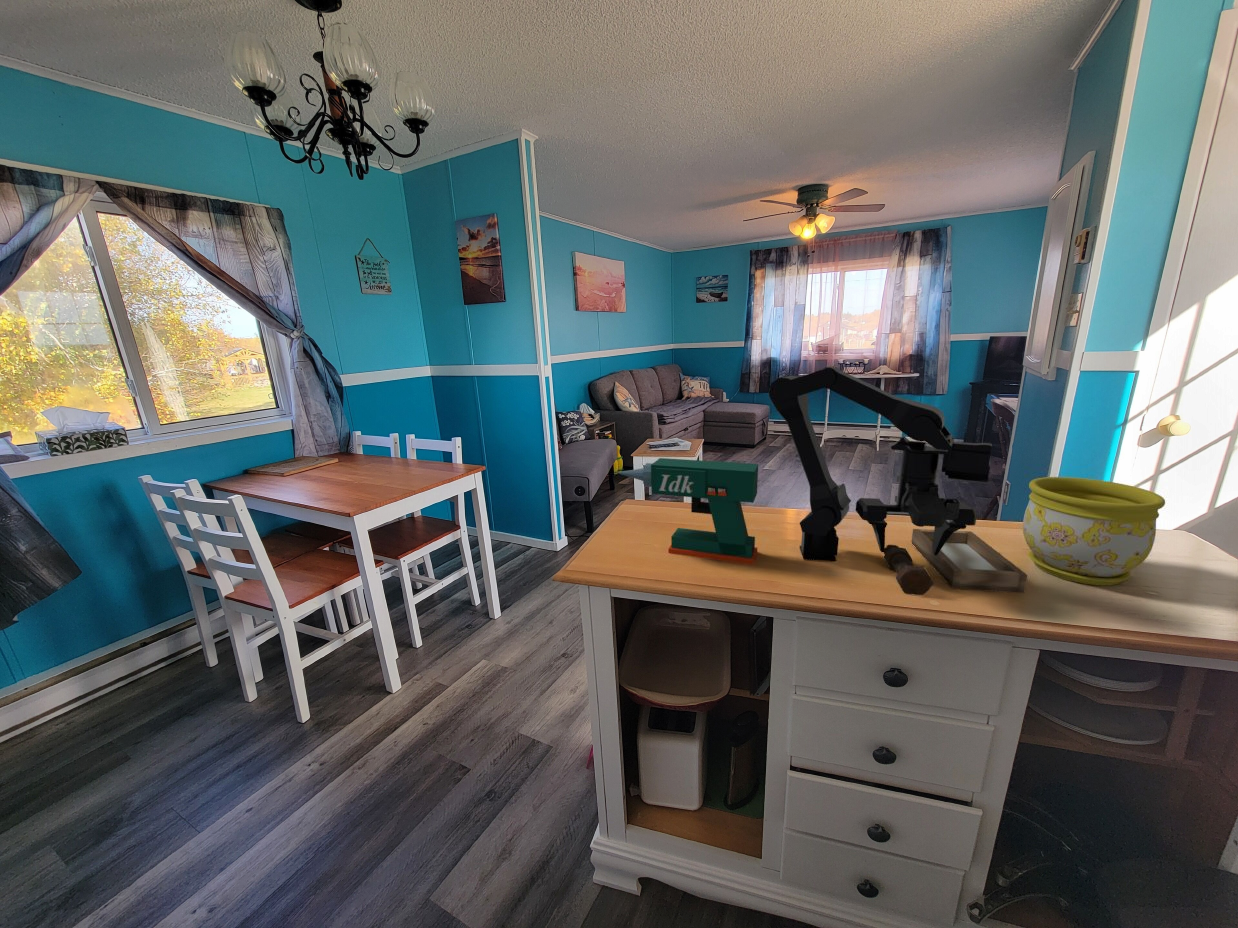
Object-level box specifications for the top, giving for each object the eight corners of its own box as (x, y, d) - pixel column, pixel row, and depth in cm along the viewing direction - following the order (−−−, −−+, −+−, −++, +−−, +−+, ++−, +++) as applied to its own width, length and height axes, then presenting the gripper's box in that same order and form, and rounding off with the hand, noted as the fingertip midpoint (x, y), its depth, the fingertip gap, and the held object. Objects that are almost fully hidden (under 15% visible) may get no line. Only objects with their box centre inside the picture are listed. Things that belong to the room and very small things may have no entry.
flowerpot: (1122, 561, 95) (1141, 482, 91) (1162, 603, 80) (1187, 511, 76) (1008, 544, 104) (1021, 472, 100) (1024, 579, 89) (1040, 496, 85)
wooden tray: (952, 588, 87) (954, 570, 86) (911, 543, 107) (913, 528, 106) (1024, 593, 85) (1027, 575, 84) (968, 546, 104) (971, 531, 103)
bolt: (893, 567, 100) (918, 602, 86) (871, 554, 100) (892, 587, 86) (911, 545, 98) (939, 577, 84) (889, 533, 99) (913, 562, 84)
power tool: (611, 546, 110) (608, 462, 106) (622, 535, 117) (620, 455, 112) (753, 565, 99) (757, 472, 94) (757, 552, 105) (760, 464, 100)
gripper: (875, 485, 82) (866, 568, 86) (999, 489, 78) (984, 576, 82) (858, 469, 93) (851, 543, 96) (967, 472, 89) (955, 549, 92)
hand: (907, 553), depth 92 cm, fingers open, 9 cm apart
